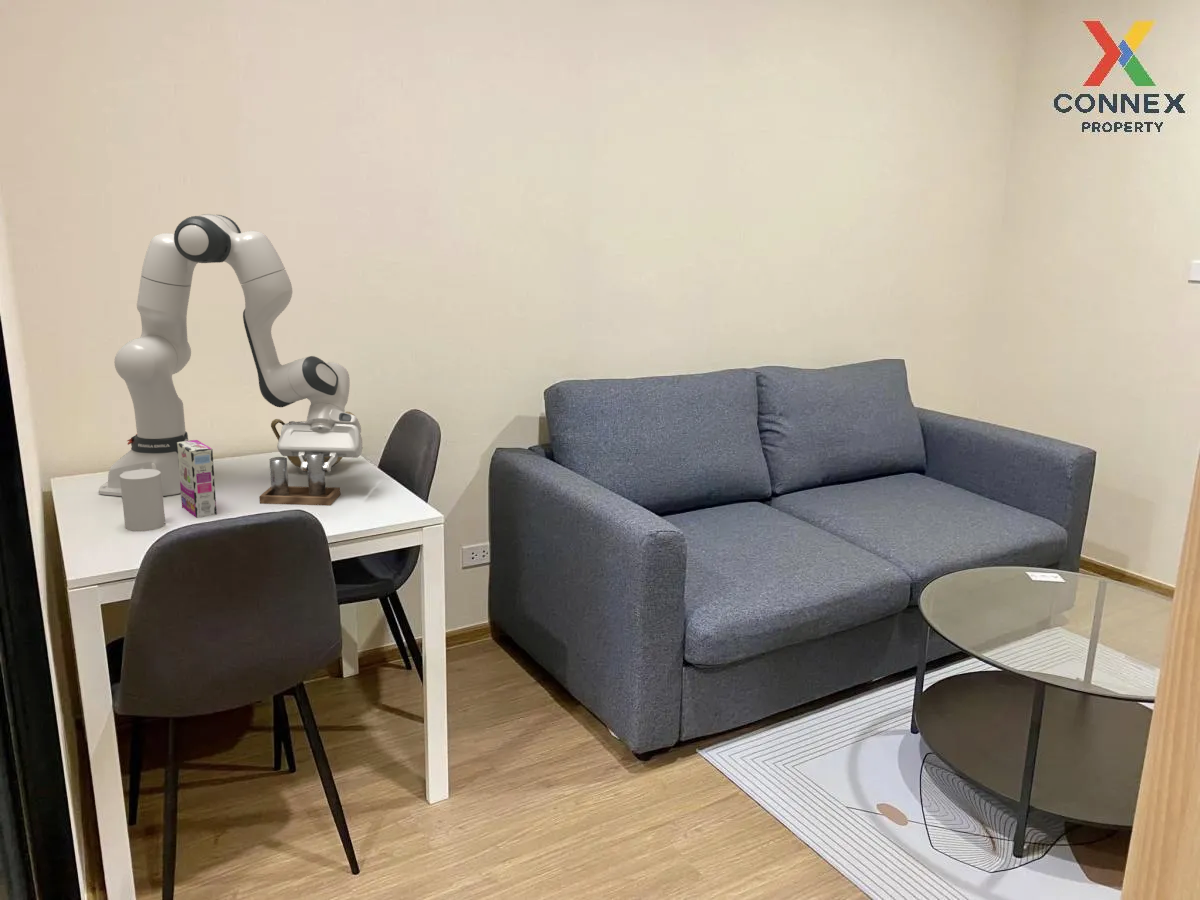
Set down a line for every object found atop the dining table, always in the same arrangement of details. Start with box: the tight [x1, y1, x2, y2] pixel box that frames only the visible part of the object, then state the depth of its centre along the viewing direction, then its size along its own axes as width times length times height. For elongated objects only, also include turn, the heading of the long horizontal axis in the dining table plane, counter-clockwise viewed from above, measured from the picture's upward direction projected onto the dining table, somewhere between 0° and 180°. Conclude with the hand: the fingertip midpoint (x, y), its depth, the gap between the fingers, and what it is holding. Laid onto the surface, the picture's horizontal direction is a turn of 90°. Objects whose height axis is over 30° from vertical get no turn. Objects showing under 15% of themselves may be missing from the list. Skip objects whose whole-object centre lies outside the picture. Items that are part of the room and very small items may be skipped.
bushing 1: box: [269, 456, 289, 496], centre depth 228 cm, size 4×4×10 cm
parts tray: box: [258, 485, 341, 507], centre depth 229 cm, size 17×9×2 cm, turn 90°
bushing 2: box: [306, 452, 327, 496], centre depth 228 cm, size 4×4×10 cm
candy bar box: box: [177, 439, 218, 519], centre depth 217 cm, size 11×5×16 cm, turn 40°
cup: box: [120, 469, 166, 532], centre depth 208 cm, size 8×8×12 cm
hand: (315, 470), depth 227 cm, fingers closed on bushing 2, 4 cm apart
